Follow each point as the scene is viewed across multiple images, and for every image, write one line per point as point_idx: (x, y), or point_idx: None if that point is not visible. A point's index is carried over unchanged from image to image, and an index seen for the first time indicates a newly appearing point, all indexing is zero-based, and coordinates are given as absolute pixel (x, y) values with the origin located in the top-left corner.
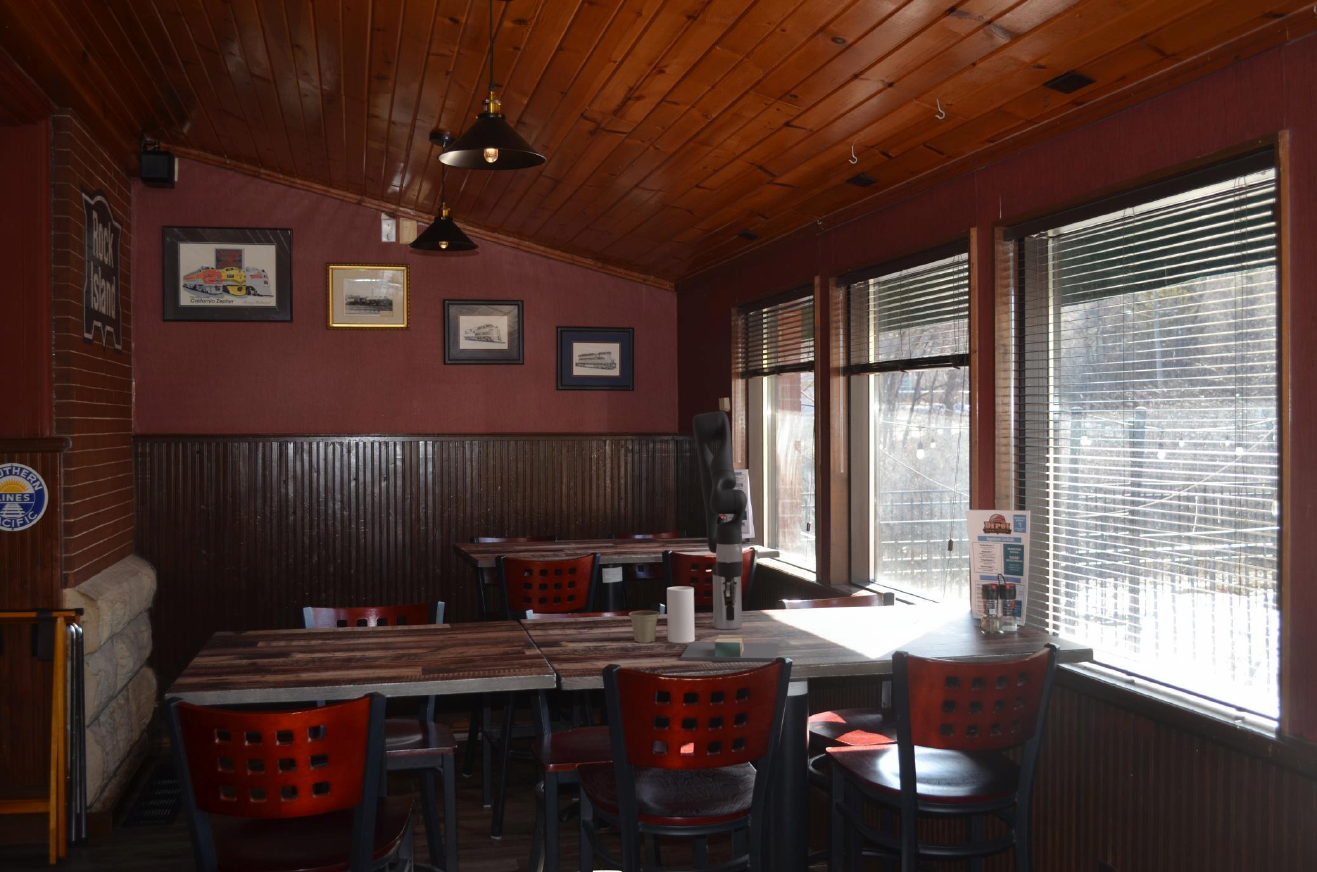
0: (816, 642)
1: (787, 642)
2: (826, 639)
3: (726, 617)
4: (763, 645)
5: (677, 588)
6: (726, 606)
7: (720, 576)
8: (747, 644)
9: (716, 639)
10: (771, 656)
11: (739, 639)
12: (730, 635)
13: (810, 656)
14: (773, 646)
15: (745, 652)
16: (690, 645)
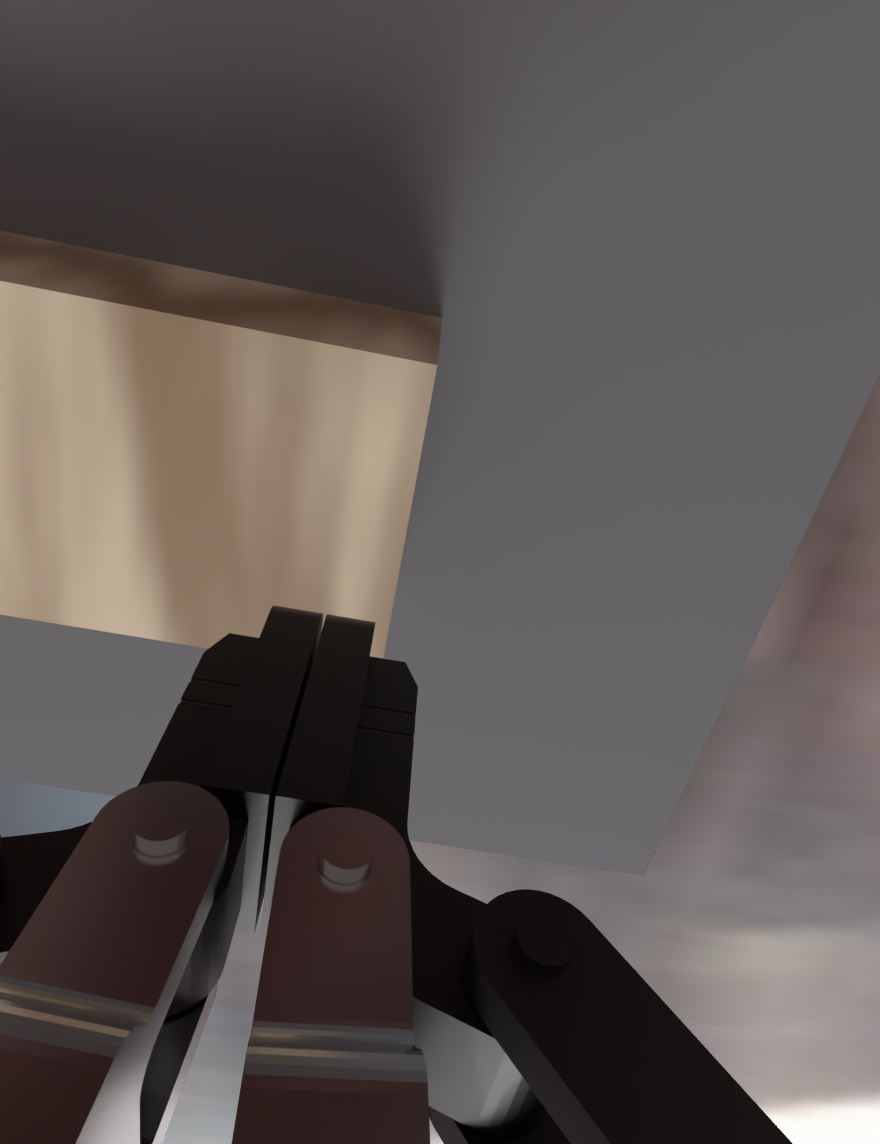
0: (733, 1052)
1: (804, 921)
2: (818, 1103)
3: (264, 628)
4: (568, 766)
5: None
6: (113, 817)
7: None
8: (658, 647)
9: (39, 288)
10: (43, 761)
11: (80, 605)
12: (386, 527)
13: (230, 963)
14: (503, 827)
15: None
16: None
